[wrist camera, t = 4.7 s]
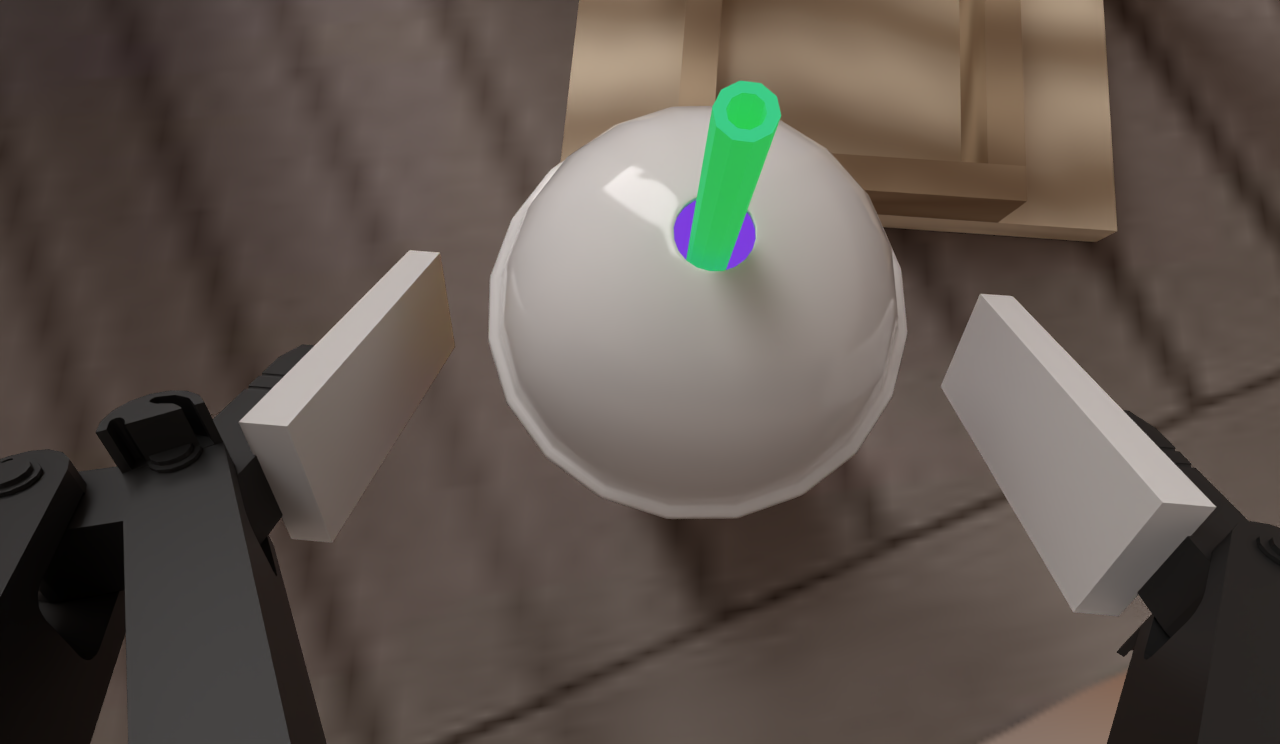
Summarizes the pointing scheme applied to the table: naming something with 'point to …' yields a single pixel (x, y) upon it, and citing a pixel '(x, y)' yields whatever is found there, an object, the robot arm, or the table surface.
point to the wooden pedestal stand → (886, 97)
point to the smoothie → (698, 311)
